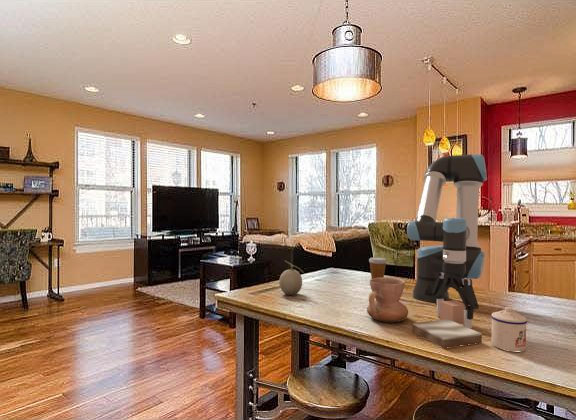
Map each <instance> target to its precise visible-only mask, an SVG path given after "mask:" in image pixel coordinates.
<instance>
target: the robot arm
mask: <svg viewBox="0 0 576 420" xmlns="http://www.w3.org/2000/svg"><path fill="white" fill-rule="evenodd" d="M422 180H423V188H422V191H421V195H420V201H419V205H418V208H417V211H416V216H415V220H413V221H412V220H411V221H409V222H408V223H407V227H406V234H407V237H408V239H409V240H410V241H411V240H412V241H419V242H420V241H424V242H439V243H440V242H441V243H442V245H430V246H428V245H427V246H422V247H418V249H417V257H416V281H415V284H414V287H413V290H412V297H413V299H416V300H419V301H422V302H429V303H431V302H432V303H435V307H436V313H435V314H436V317H437V318H440V308H441V301H450V293H449V289H450V288H452V289H453V290H455V291H456V292H458V295H459V298H460V299H461V301H462V303H463V304H464V305H465V307H466V308H465V309H464V325H463V326H465V327H468V328H470V329H472V328H473V319H474V310H479V309H480V306H479V302H478V300H477V296H476V292H475V289H474V287H473V280H477V279H480V278H481V276H482V273H483V269H484V264H485V257H486V252H484V251H482V246H480V245H479V243H478V228H479V226H478V224H479V191H480V188H481V187H482V186H483V185H484V182H485V181H487V180H488V177H487V168H486V161H485V156H484V155H483V154H476V153H475V154H473V153H470V154H459V155H457V154H456V155H444V156H442V157H440V158H437V159H436V160H434V161H433V162H431V164H430V165H429V166H428V167H427V168H426V170H425V171H424V174H423V178H422ZM447 182H453V186H454V187H455V188H456V203H455V204H456V205H455V208H456V209H455V210H456V211H455V217H451V218H450V217H446V218H444V219H443V221H436V220H437V214H438V210H439V207H440V206H439V205H440V202H441V201H440V200H441V195H442V190H443V187H444V186H445V184H446V183H447Z"/></svg>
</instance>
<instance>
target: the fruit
mask: <svg viewBox="0 0 576 420" xmlns="http://www.w3.org/2000/svg"><path fill="white" fill-rule="evenodd" d="M284 262H285V263H287V264H288V265H290V268H289V269H286V270H284V271H283V272H282V273H281V274H280V277H279V280H278V281H279V287H280V289H281V292H282V293H283V294H285V295H287V296H295V295H297V294H299V293H300V291H301V289H302V287H303V277H302V274H300V272H299V271H297V270H296V269H294V268H297V269H298V270H300V271H301V272H302V273H303V274H305V272H304V271H303V270H302V269H301V268H300V267H298V266H296V265H294V264H292V263H291V262H288V261H287V260H284Z"/></svg>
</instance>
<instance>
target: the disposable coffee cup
mask: <svg viewBox="0 0 576 420" xmlns="http://www.w3.org/2000/svg"><path fill="white" fill-rule="evenodd" d="M368 262H369V267H370V277H371V279H374V278H383V277H385V272H386V264H387V258H385V257H378V256H377V257H370V258H369V259H368Z"/></svg>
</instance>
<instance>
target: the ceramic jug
mask: <svg viewBox="0 0 576 420" xmlns="http://www.w3.org/2000/svg"><path fill="white" fill-rule="evenodd" d="M405 283H406V281H405V280H404V279H401V278H400V279H399V278H396V277H387V276H384V277H383V278H374V279H372V278H371V279H370V280H369V285H370V289H371V292H369V295H368V306H367V307H366V312H367V314H368V315H369V317H371V318H373V319H374V320H376V321H379V322H384V323H399V322H402V321H404V320H405V319H406V318H407V317H408V314H409V310H408V308H407V306H406V305H405V304H403V303H402V302H401V301H400V299H401V298H402V295H403V292H404V289H405V285H406V284H405Z"/></svg>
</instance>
